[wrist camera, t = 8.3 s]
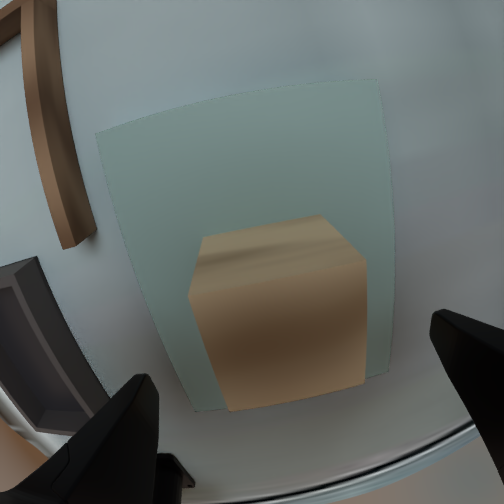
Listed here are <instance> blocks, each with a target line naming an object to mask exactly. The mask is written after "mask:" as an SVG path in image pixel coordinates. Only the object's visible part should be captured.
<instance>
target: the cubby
mask: <svg viewBox="0 0 504 504" xmlns="http://www.w3.org/2000/svg"><path fill="white" fill-rule="evenodd" d="M20 32H21V52H22V68H23V79H24V89H25V97H26V105H27V112H28V118H29V124H30V130H31V136H32V141H33V146H34V151H35V155H36V160H37V164H38V168H39V173H40V177H41V181H42V184H43V188H44V192H45V195H46V199H47V203H48V206H49V209H50V213H51V216H52V219H53V222H54V225H55V228H56V231H57V234H58V237H59V240H60V243H61V246H62V249H63V250H64V249H68V248H71V247H75V246H77V245H78V244H79V243H81V242H82V241H83V240H84V239H85V238H87V237H88V236H89V235H90V234H92V233H93V232H94V231H95V230H97V227H96V224H95V221H94V218H93V215H92V211H91V208H90V205H89V201H88V198H87V194H86V191H85V187H84V183H83V179H82V176H81V172H80V168H79V164H78V159H77V155H76V151H75V146H74V142H73V137H72V132H71V127H70V122H69V117H68V111H67V105H66V99H65V93H64V86H63V79H62V71H61V62H60V53H59V41H58V27H57V0H13V1H11V2H10V3H9V4H7V5H6V6H4V7H3V8H2V9H0V46H1V45H2V44H4V43H5V42H6V41H8V40H9V39H11V38H12V37H14V36H15V35H17V34H18V33H20Z"/></svg>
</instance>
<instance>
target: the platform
mask: <svg viewBox="0 0 504 504" xmlns="http://www.w3.org/2000/svg"><path fill="white" fill-rule="evenodd" d="M95 135H96V140H97V144H98V149H99V153H100V157H101V161H102V165H103V169H104V173H105V177H106V181H107V185H108V189H109V192H110V196H111V199H112V203H113V206H114V210H115V213H116V217H117V220H118V223H119V227H120V230H121V233H122V236H123V239H124V242H125V245H126V248H127V251H128V254H129V257H130V260H131V263H132V266H133V269H134V272H135V274H136V277H137V280H138V283H139V285H140V288H141V291H142V293H143V296H144V299H145V301H146V304H147V306H148V309H149V311H150V314H151V316H152V319H153V321H154V324H155V326H156V329H157V331H158V333H159V336H160V338H161V340H162V343H163V345H164V347H165V350H166V352H167V354H168V356H169V359H170V361H171V363H172V365H173V367H174V369H175V372H176V374H177V376H178V378H179V380H180V382H181V384H182V386H183V388H184V390H185V392H186V394H187V397H188V399H189V401H190V402H191V404H192V406H193V408H194V410H195V412H200V411H209V410H218V409H226V408H228V407H227V405H226V402H225V400H224V397H223V395H222V392H221V389H220V387H219V384H218V381H217V379H216V376H215V373H214V371H213V368H212V365H211V363H210V360H209V357H208V354H207V352H206V349H205V346H204V343H203V340H202V337H201V334H200V332H199V329H198V326H197V323H196V320H195V317H194V314H193V311H192V308H191V305H190V302H189V298H188V293H189V289H190V285H191V281H192V277H193V273H194V269H195V266H196V262H197V258H198V254H199V251H200V247H201V243H202V239H203V237H206V236H211V235H216V234H221V233H226V232H231V231H236V230H241V229H246V228H251V227H256V226H261V225H266V224H271V223H276V222H281V221H286V220H292V219H297V218H302V217H308V216H313V215H318V214H321V215H322V216H323V217H324V218H325V219H326V220H327V221H328V222H329V223H330V224H331V225H332V226H333V227H334V228H335V229H336V230H337V231H338V232H339V233H340V234H341V235H342V236H343V237H344V238H345V239H346V240H347V241H348V242H349V243H350V244H351V245H352V246H353V247H354V248H355V249H356V250H357V251H358V252H359V253H360V254H361V255H362V256H363V257H364V258H365V259H366V264H367V347H366V369H365V379H366V378H370V377H373V376H376V375H379V374H382V373H386V372H389V363H390V353H391V343H392V330H393V315H394V292H395V230H394V208H393V192H392V180H391V169H390V159H389V150H388V142H387V135H386V127H385V121H384V114H383V108H382V102H381V97H380V91H379V86H378V81H377V79H367V80H346V81H331V82H319V83H309V84H300V85H292V86H284V87H277V88H270V89H264V90H257V91H251V92H246V93H240V94H235V95H230V96H225V97H220V98H216V99H211V100H207V101H202V102H198V103H194V104H190V105H186V106H182V107H178V108H174V109H171V110H167V111H163V112H160V113H157V114H153V115H150V116H146V117H143V118H140V119H137V120H134V121H131V122H128V123H125V124H122V125H119V126H116V127H113V128H110V129H107V130H105V131H102V132H99V133H96V134H95Z"/></svg>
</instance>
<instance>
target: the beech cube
mask: <svg viewBox="0 0 504 504" xmlns="http://www.w3.org/2000/svg"><path fill="white" fill-rule="evenodd" d="M188 298H189V302H190V305H191V308H192V311H193V314H194V317H195V320H196V323H197V326H198V329H199V332H200V334H201V337H202V340H203V343H204V346H205V349H206V352H207V354H208V357H209V360H210V363H211V365H212V368H213V371H214V373H215V376H216V379H217V381H218V384H219V387H220V389H221V392H222V395H223V397H224V400H225V402H226V405H227V407H228V410H229V412H233V411H240V410H247V409H253V408H259V407H265V406H271V405H277V404H282V403H287V402H292V401H297V400H302V399H306V398H311V397H315V396H319V395H323V394H328V393H332V392H335V391H339V390H343V389H347V388H350V387H354V386H358V385H361V384H365V369H366V347H367V264H366V259H365V258H364V257H363V256H362V255H361V254H360V253H359V252H358V251H357V250H356V249H355V248H354V247H353V246H352V245H351V244H350V243H349V242H348V241H347V240H346V239H345V238H344V237H343V236H342V235H341V234H340V233H339V232H338V231H337V230H336V229H335V228H334V227H333V226H332V225H331V224H330V223H329V222H328V221H327V220H326V219H325V218H324V217H323V216H322V215H321V214H318V215H313V216H308V217H302V218H297V219H292V220H286V221H281V222H276V223H271V224H266V225H261V226H256V227H251V228H246V229H241V230H236V231H231V232H226V233H221V234H216V235H211V236H206V237H203V239H202V243H201V247H200V251H199V254H198V258H197V262H196V266H195V269H194V273H193V277H192V281H191V285H190V289H189V293H188Z"/></svg>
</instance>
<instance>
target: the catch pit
mask: <svg viewBox="0 0 504 504" xmlns="http://www.w3.org/2000/svg"><path fill="white" fill-rule="evenodd" d="M0 386H1V388H2V389H3V391H4V392H5V393H6V395H7V396H8V397H9V399H10V400H11V401H12V403H13V404H14V405H15V407H16V408H17V409H18V410H19V412H20V413H21V414H22V415H23V417H24V418H25V419H26V420H27V421H28V423H29V424H30V425H31V426H32V427H33V428H34V430H35V431H37V432H43V433H50V434H58V435H67V436H73V435H74V434H75V433H76V432H77V431H78V430H79V429H80V428H81V427H82V426H83V425H85V424H86V423H87V422H88V421H89V420H90V419H91V418H92V417H93V416H94V415H95V414H96V413H97V412H98V411H99V410H100V409H101V408H102V407H103V406H104V405H105V404H106V403H107V402H108V401H109V400H110V398H109V396H108V395H107V393H106V392H105V390H104V389H103V387H102V385H101V384H100V382H99V381H98V379H97V377H96V376H95V374H94V373H93V371H92V369H91V368H90V366H89V364H88V362H87V361H86V359H85V357H84V356H83V354H82V352H81V350H80V348H79V347H78V345H77V343H76V341H75V339H74V337H73V335H72V333H71V332H70V330H69V328H68V326H67V324H66V322H65V320H64V318H63V316H62V314H61V312H60V309H59V307H58V305H57V303H56V301H55V299H54V297H53V294H52V292H51V290H50V287H49V285H48V283H47V280H46V278H45V276H44V273H43V271H42V268H41V266H40V263H39V261H38V258H37V256H35V257H32V258H28V259H25V260H22V261H18V262H15V263H12V264H9V265H5V266H2V267H0Z"/></svg>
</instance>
